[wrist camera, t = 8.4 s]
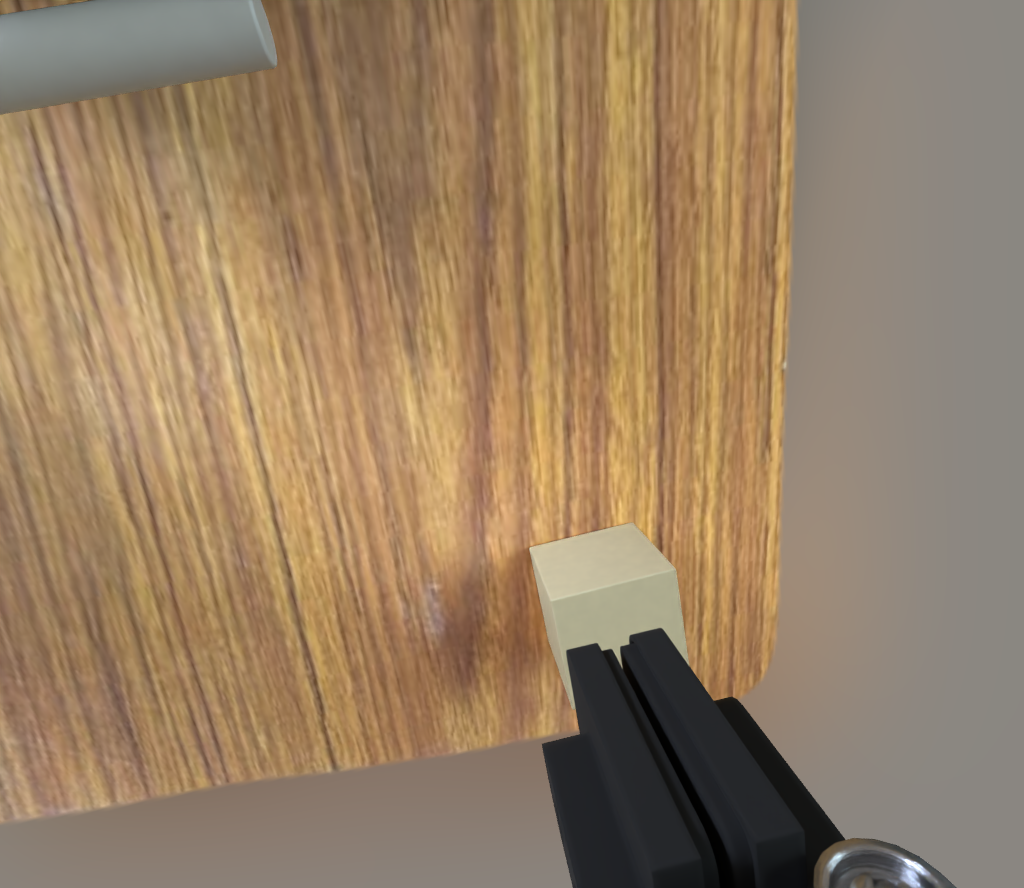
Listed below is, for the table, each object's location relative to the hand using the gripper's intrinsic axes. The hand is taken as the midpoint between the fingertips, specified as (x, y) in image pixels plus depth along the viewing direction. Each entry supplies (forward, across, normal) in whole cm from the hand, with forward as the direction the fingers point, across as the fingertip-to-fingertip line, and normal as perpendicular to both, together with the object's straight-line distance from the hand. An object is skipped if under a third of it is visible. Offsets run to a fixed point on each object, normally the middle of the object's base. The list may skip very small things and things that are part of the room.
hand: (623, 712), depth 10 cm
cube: (+11, -2, +4) cm, 12 cm away
